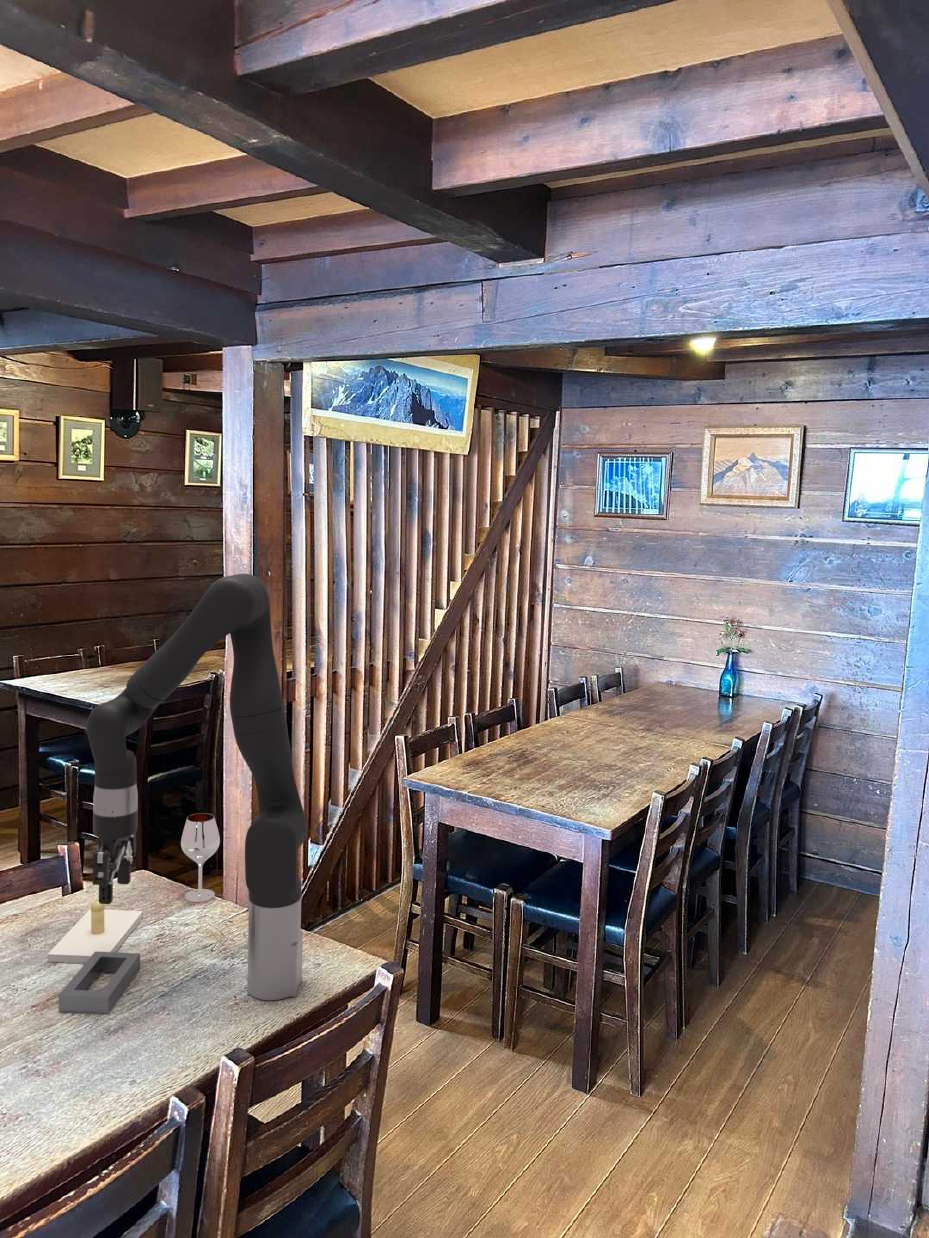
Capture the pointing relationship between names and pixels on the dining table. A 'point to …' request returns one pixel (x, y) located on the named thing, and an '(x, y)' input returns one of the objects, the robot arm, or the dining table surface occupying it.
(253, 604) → the robot arm
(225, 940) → the dining table surface
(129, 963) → the grey rectangular frame
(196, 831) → the wineglass
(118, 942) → the board
